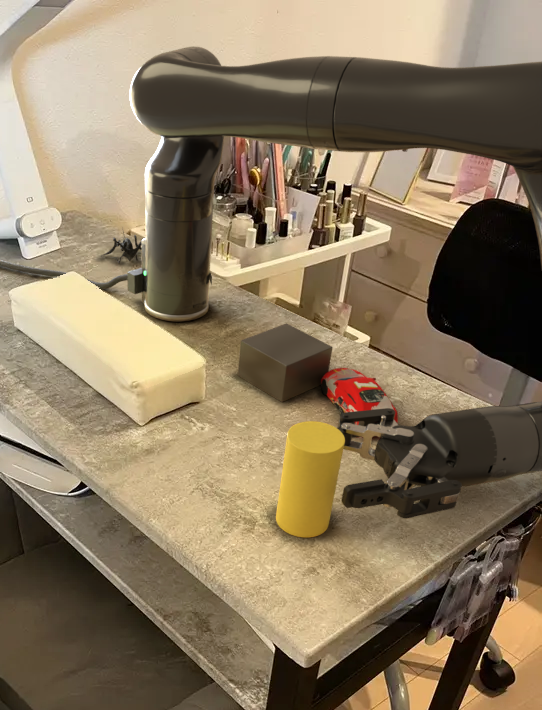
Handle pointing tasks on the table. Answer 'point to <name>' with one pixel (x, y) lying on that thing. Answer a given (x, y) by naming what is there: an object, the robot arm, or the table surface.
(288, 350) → the block
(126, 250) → the creature
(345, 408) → the race car
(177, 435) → the table surface
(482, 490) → the table surface
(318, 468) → the canister
